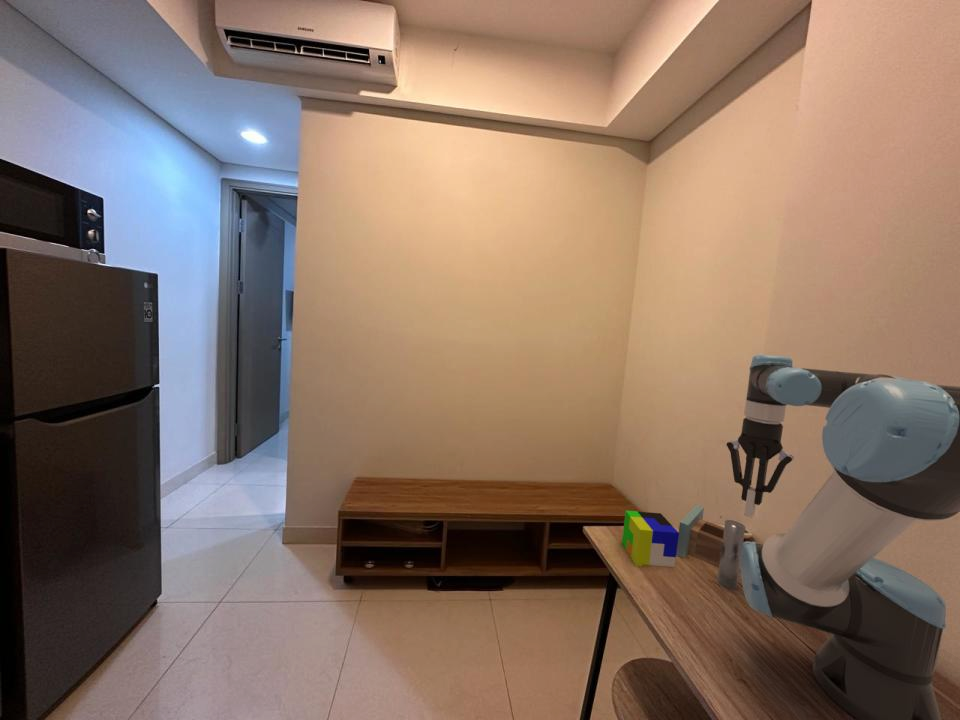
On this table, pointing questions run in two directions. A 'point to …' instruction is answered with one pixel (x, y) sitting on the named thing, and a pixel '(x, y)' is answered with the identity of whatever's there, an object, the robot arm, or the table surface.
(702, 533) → the brown wooden box
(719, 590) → the table surface
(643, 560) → the puzzle toy
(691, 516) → the backstop
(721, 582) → the dowel
